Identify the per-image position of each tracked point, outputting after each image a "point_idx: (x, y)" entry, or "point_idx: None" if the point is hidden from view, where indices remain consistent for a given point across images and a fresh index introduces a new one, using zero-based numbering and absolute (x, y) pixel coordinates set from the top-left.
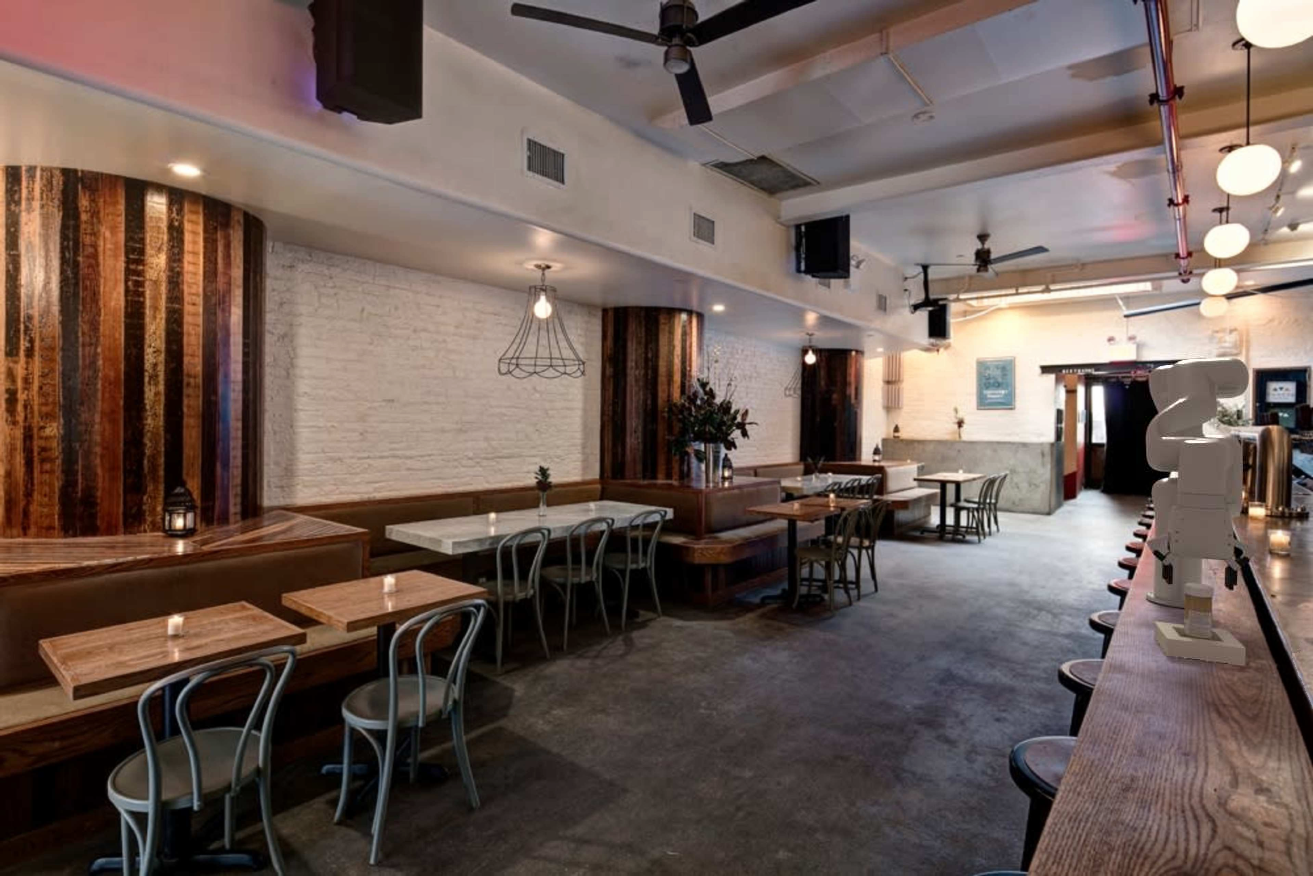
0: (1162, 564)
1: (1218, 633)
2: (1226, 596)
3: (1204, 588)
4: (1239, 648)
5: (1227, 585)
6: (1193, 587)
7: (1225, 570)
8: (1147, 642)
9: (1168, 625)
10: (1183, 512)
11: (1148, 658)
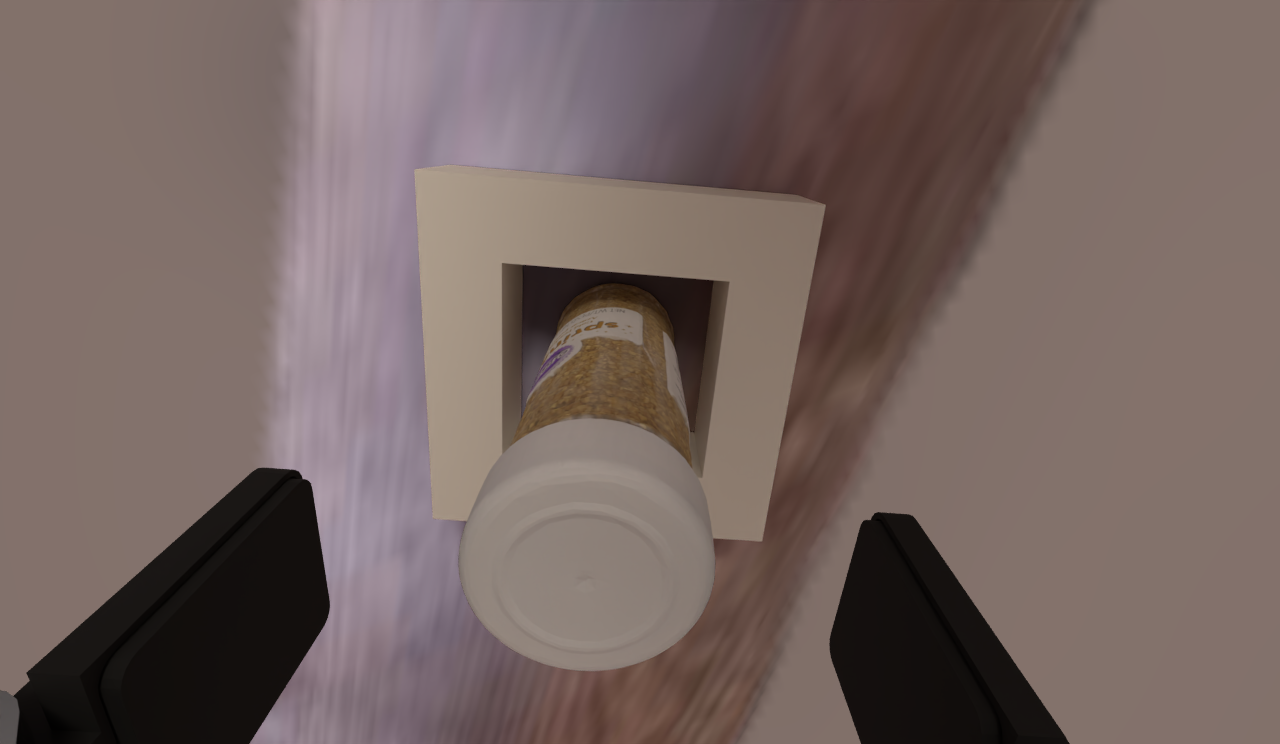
0: (23, 709)
1: (735, 320)
2: None
3: (604, 669)
4: (736, 536)
5: (849, 631)
6: (514, 650)
7: (954, 704)
8: (404, 279)
9: (485, 246)
10: None
11: (383, 524)
